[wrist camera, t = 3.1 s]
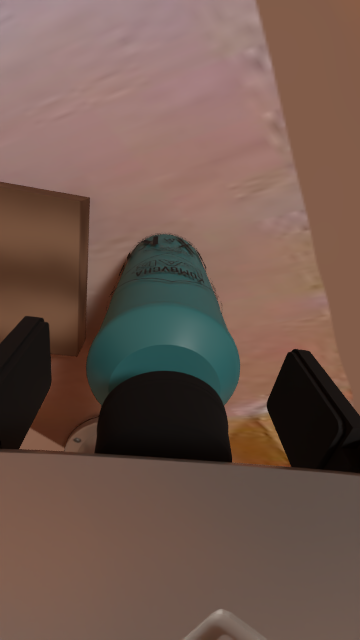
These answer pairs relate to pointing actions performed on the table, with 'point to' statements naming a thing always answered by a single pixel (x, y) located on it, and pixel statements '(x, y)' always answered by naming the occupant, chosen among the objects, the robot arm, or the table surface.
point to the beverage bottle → (163, 359)
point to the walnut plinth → (44, 263)
